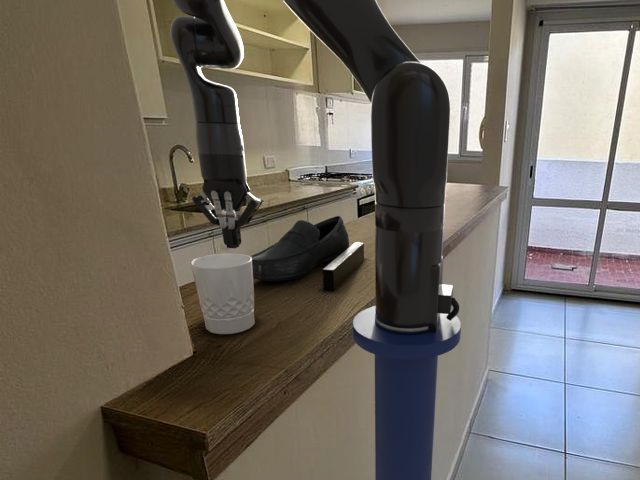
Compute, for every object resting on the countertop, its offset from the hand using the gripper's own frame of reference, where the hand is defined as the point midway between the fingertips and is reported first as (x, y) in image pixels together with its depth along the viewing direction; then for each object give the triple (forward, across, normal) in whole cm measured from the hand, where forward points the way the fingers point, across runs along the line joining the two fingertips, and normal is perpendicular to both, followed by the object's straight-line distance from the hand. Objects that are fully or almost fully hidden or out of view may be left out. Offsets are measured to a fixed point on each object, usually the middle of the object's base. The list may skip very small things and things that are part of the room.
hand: (233, 247), depth 85 cm
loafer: (+6, +10, +7) cm, 14 cm away
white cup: (+6, +11, -22) cm, 25 cm away
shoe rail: (+6, +20, +7) cm, 22 cm away
